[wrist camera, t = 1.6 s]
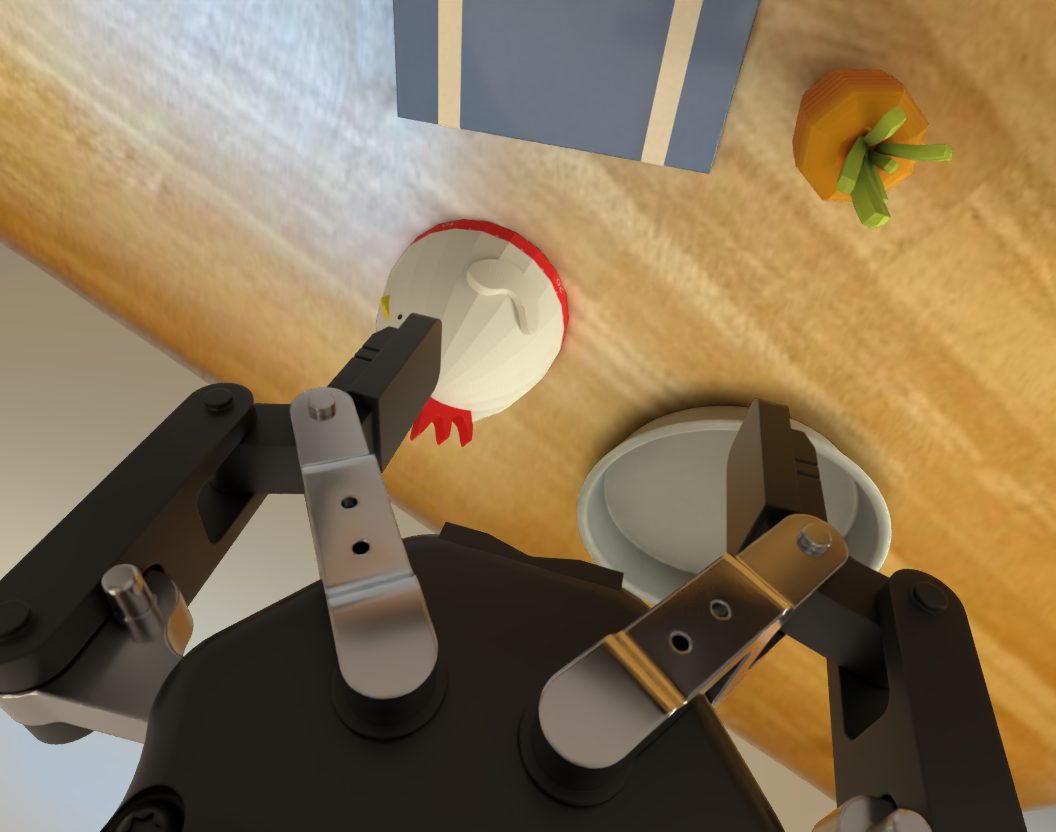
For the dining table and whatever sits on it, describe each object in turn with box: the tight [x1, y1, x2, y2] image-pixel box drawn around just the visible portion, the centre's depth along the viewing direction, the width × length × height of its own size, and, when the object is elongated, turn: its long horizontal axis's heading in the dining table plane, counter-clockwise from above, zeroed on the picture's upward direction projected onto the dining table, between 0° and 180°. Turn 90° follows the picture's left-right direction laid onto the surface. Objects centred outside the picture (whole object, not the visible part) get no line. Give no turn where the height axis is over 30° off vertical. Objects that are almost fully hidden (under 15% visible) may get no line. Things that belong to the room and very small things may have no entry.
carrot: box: [793, 70, 953, 228], centre depth 27 cm, size 5×5×15 cm
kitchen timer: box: [376, 219, 569, 447], centre depth 41 cm, size 14×14×15 cm
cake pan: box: [577, 406, 891, 605], centre depth 52 cm, size 25×25×4 cm
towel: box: [393, 0, 760, 174], centre depth 34 cm, size 10×20×1 cm, turn 85°
